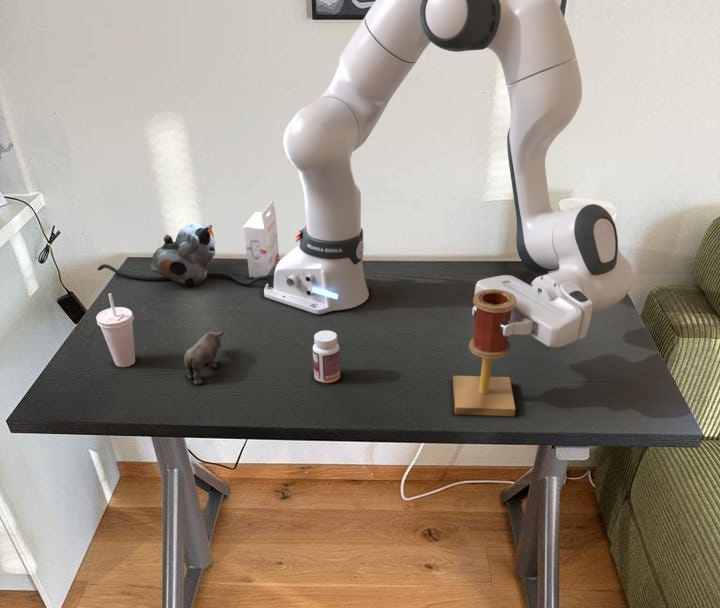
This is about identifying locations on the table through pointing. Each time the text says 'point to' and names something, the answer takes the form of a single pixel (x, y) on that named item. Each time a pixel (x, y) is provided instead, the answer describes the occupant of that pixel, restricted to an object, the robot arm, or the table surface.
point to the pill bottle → (326, 357)
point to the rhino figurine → (202, 354)
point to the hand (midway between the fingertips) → (488, 321)
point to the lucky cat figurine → (185, 254)
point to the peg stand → (483, 394)
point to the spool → (491, 323)
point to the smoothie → (118, 333)
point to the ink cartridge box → (261, 242)
